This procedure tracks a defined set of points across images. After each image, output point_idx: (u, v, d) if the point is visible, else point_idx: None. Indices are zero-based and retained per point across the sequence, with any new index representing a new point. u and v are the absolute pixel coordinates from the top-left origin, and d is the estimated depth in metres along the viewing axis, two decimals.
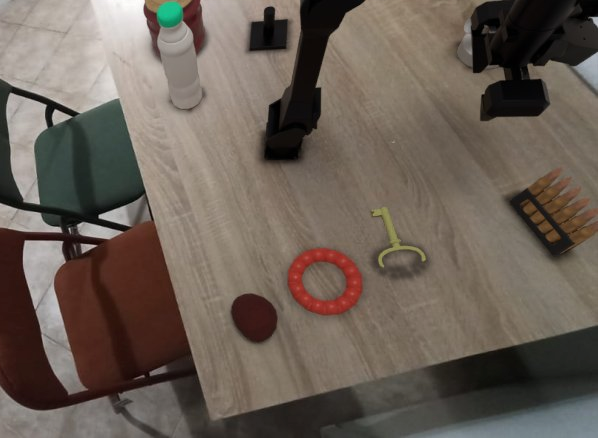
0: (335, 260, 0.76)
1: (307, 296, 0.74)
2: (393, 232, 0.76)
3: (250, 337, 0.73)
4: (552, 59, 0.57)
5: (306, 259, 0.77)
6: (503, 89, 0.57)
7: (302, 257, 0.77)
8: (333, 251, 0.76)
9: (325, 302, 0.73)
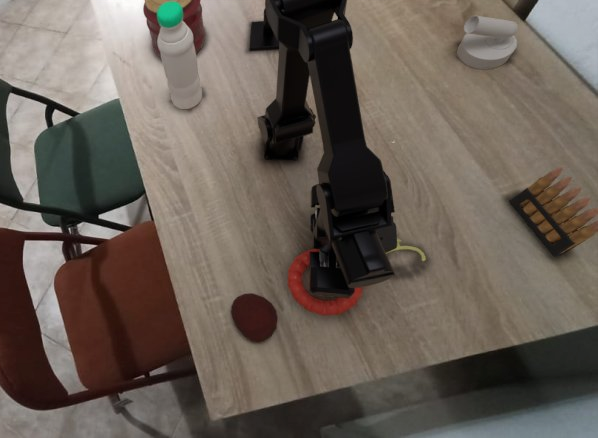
0: None
1: (307, 296, 0.74)
2: None
3: (250, 337, 0.73)
4: None
5: (306, 259, 0.77)
6: (318, 275, 0.67)
7: (302, 257, 0.77)
8: None
9: (325, 302, 0.73)
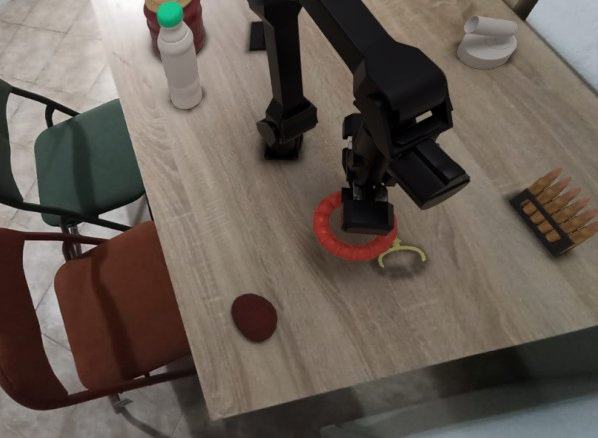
0: None
1: (335, 239, 0.67)
2: None
3: (250, 337, 0.73)
4: None
5: (334, 200, 0.69)
6: (353, 209, 0.59)
7: (330, 198, 0.70)
8: None
9: (355, 246, 0.66)
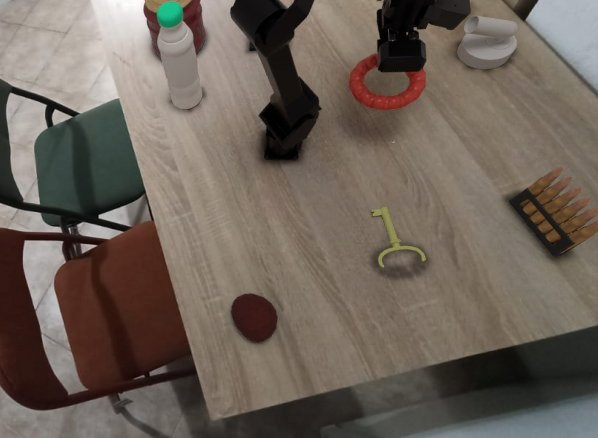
0: None
1: (369, 92, 0.76)
2: (393, 232, 0.76)
3: (250, 337, 0.73)
4: (431, 23, 0.68)
5: (369, 61, 0.78)
6: (389, 48, 0.68)
7: (365, 59, 0.78)
8: None
9: (387, 96, 0.75)
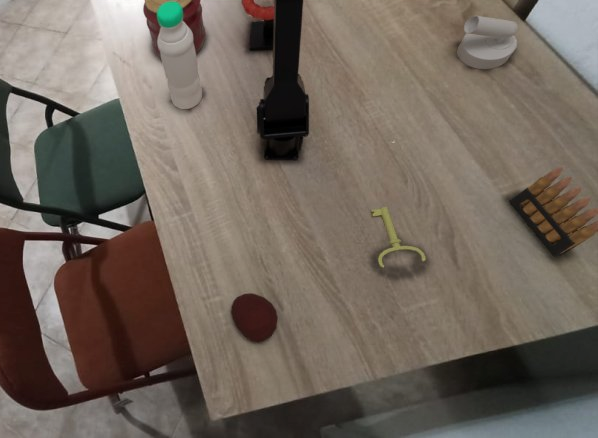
0: None
1: (255, 4, 0.91)
2: (393, 232, 0.76)
3: (250, 337, 0.73)
4: None
5: None
6: None
7: None
8: None
9: (269, 7, 0.90)
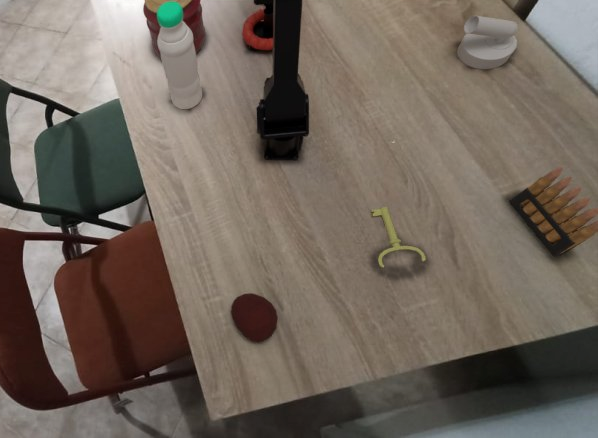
0: None
1: (255, 36, 0.99)
2: (393, 232, 0.76)
3: (250, 337, 0.73)
4: None
5: (256, 14, 1.01)
6: None
7: (254, 13, 1.01)
8: None
9: None
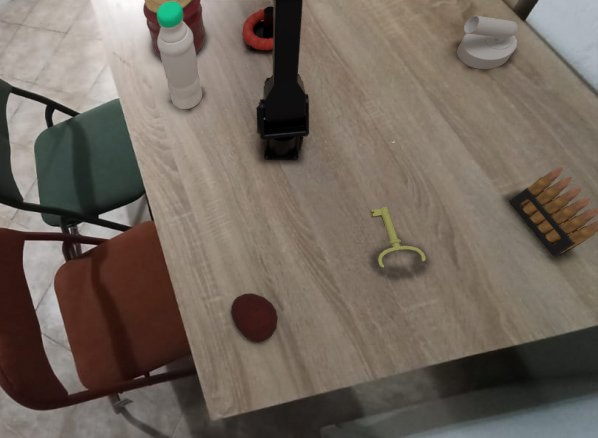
0: None
1: (255, 36, 0.99)
2: (393, 232, 0.76)
3: (250, 337, 0.73)
4: None
5: (256, 14, 1.01)
6: None
7: (254, 13, 1.01)
8: None
9: None
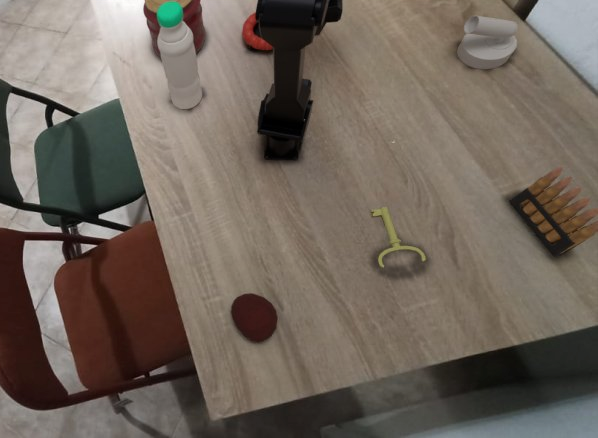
0: None
1: (255, 36, 0.99)
2: (393, 232, 0.76)
3: (250, 337, 0.73)
4: None
5: None
6: None
7: (254, 13, 1.01)
8: None
9: None
